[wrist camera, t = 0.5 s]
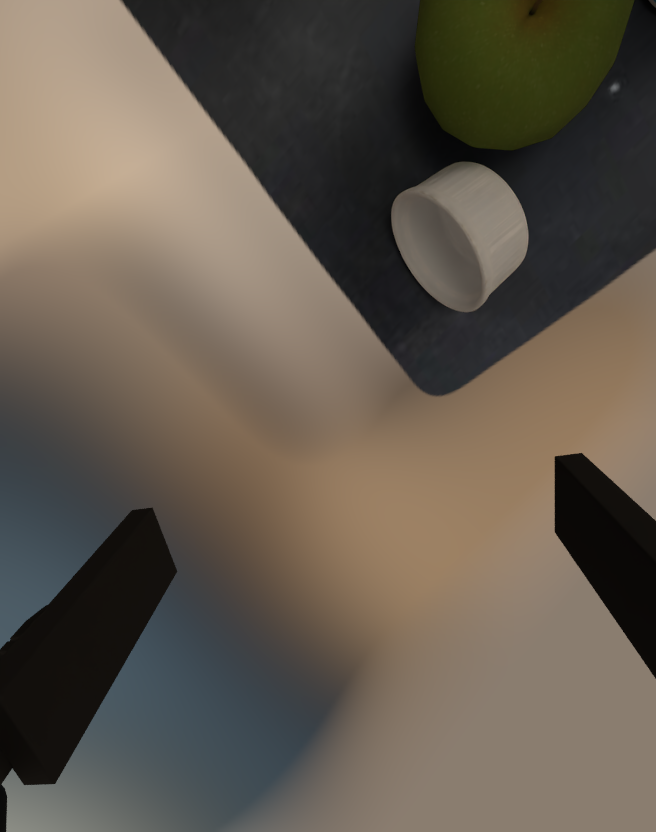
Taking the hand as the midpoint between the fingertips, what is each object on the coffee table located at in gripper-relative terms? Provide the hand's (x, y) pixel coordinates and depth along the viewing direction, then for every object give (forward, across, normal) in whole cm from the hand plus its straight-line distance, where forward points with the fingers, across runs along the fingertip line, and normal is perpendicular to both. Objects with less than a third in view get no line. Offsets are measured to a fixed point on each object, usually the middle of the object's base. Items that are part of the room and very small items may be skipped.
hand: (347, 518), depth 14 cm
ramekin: (+20, +10, +9) cm, 24 cm away
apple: (+23, +11, +17) cm, 31 cm away
